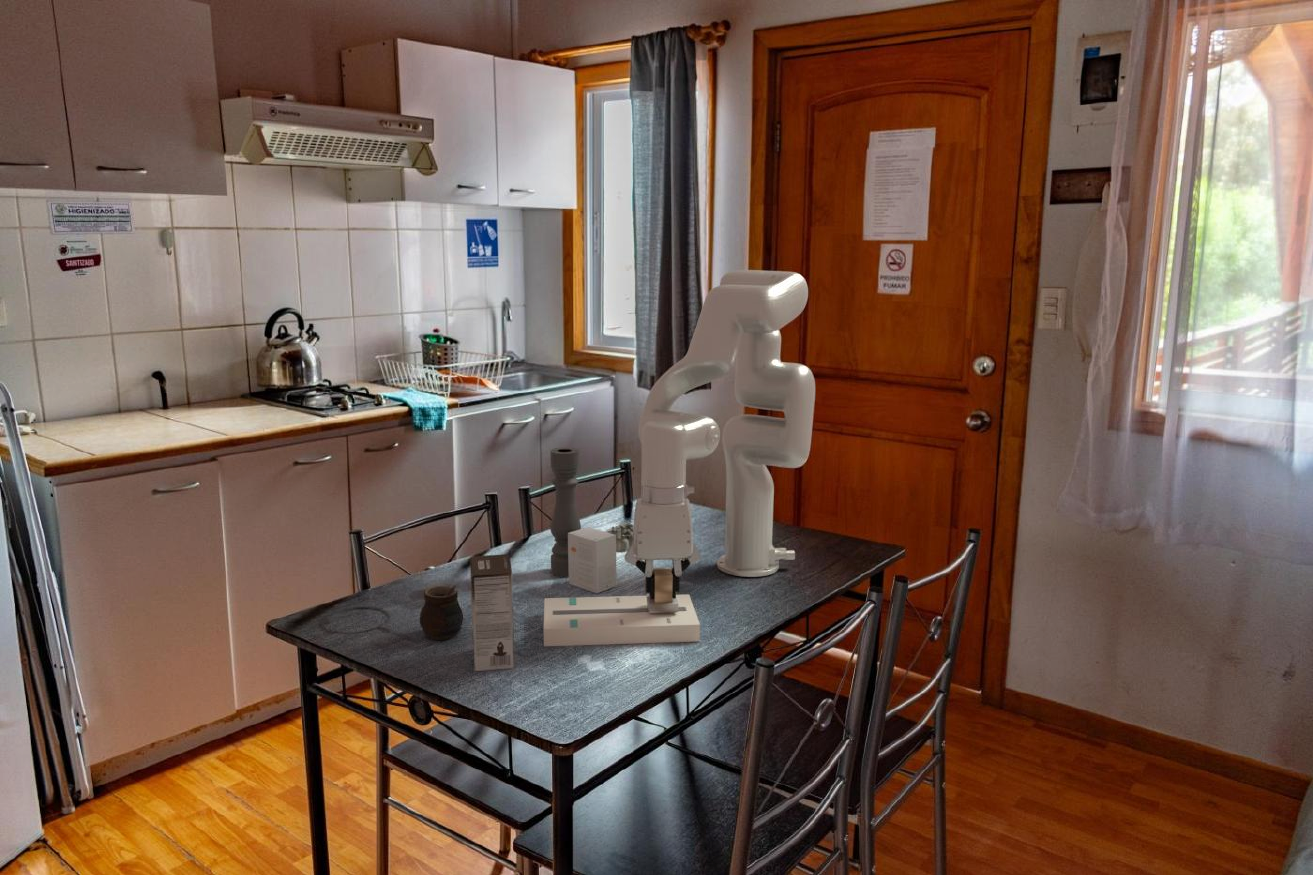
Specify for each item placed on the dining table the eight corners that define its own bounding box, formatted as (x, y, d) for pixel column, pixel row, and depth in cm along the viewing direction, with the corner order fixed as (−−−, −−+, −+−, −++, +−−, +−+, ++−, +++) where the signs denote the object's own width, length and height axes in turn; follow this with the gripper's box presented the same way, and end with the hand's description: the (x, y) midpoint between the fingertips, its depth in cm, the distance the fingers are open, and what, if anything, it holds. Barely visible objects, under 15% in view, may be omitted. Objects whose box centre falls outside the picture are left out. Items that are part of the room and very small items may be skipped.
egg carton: (622, 554, 212) (621, 536, 211) (594, 548, 216) (594, 530, 215) (651, 542, 220) (651, 524, 219) (624, 535, 224) (624, 518, 224)
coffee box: (472, 648, 164) (469, 555, 160) (511, 645, 165) (509, 552, 162) (474, 672, 155) (471, 574, 152) (515, 669, 156) (513, 571, 153)
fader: (674, 601, 175) (675, 566, 174) (678, 612, 171) (678, 576, 169) (646, 602, 175) (646, 567, 174) (649, 613, 170) (649, 576, 169)
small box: (617, 587, 192) (617, 534, 190) (596, 594, 188) (596, 541, 186) (588, 577, 197) (588, 526, 195) (567, 584, 193) (567, 532, 191)
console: (688, 610, 181) (689, 593, 180) (699, 641, 167) (700, 624, 167) (544, 614, 178) (544, 597, 178) (543, 646, 165) (543, 628, 164)
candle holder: (583, 567, 203) (583, 447, 198) (578, 577, 197) (577, 454, 192) (554, 566, 203) (552, 446, 198) (547, 576, 197) (545, 453, 192)
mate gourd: (440, 623, 174) (439, 569, 172) (474, 633, 170) (473, 577, 168) (411, 637, 168) (409, 581, 166) (445, 647, 164) (443, 590, 162)
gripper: (708, 486, 173) (705, 587, 177) (613, 488, 171) (613, 589, 175) (714, 498, 166) (712, 602, 169) (616, 500, 164) (616, 605, 168)
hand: (662, 595), depth 172 cm, fingers closed on fader, 3 cm apart
